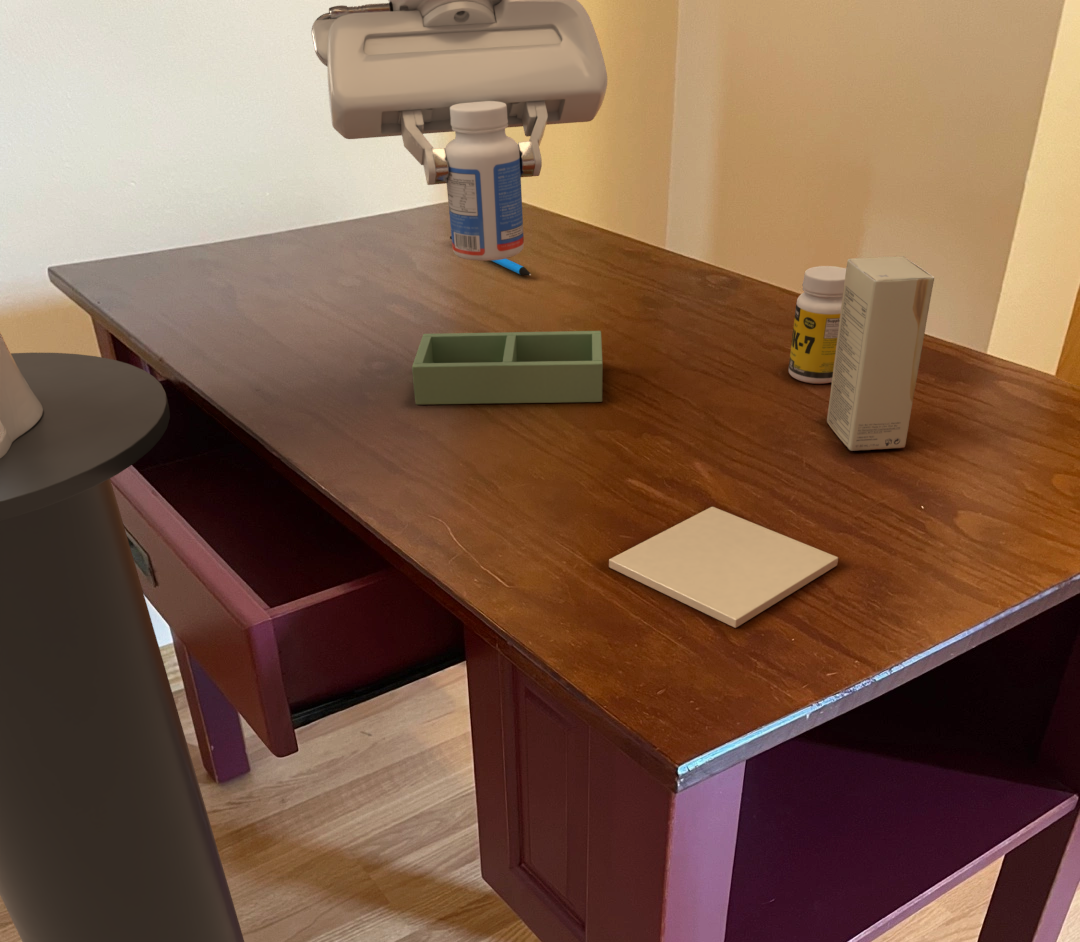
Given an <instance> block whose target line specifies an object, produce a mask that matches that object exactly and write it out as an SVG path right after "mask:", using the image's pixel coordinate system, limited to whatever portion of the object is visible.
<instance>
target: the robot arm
mask: <svg viewBox="0 0 1080 942" xmlns="http://www.w3.org/2000/svg"><path fill="white" fill-rule="evenodd" d="M311 38H312V44H313V48H314V52H315V55H316V57H317V58H318V60H319V61H320V62H321V63H322V64H323V65H324V66H325V67H327V68H326V69H327V89H328V90H327V92H328V103H329V114H330V121H331V125H332V128H333V129H334V130H335V131H336V132H337V133H338V134H339V135H340V136H341V137H343V138H344V139H346V140H357V139H358V140H359V139H372V138H384V137H385V138H386V137H399V136H401V138H402V144H403V147H404V148H405V150H407V152H408V153H409V154H411V156H412V157H413V158H414V159H415V160H416V161H417V162H418V163H419V164H420V165H421V166H423V170H424V171H423V172H424V176H425V181H426V185H428V186H433V185H444V184H447V183H448V177H449V166H448V162H447V161H446V157H447V156H446V151H445V148H446V147H438V148H436V147H435V148H434V146H433V145H432V144H431V143H430V141H429V140H428V139H427V138H426V136H425V134H437V133H438V134H439V133H440V134H441V133H453V132H454V133H455V131H453V130H452V126H451V117H450V107H451V106H452V105H455V104H459V103H468V102H480V101H497V102H503V103H505V104H506V106H507V119H508V123H507V124H508V127H507V128H520V127H521V128H523V133H524V136H525V137H529V140H527V141H526V140H525V141H518V143H517V144H518V147H519V156H520V173H521V178H530V177H531V178H532V177H540V174H541V170H542V165H543V162H542V154H541V150H540V145H541V144H542V143H541V142H542V141H543V138H544V134H545V130H546V126H547V125H560V124H577V123H587V122H592V121H593V120H594V119H595V117H596V116H597V114H598V113H599V111H600V110H601V107H602V105H603V102H604V100H605V96H606V93H607V89H608V88H607V87H608V73H607V67H606V64H605V60H604V56H603V55H604V54H603V53H602V52H603V51H602V49H601V45H600V42H599V39H598V35H597V33H596V31H595V28H594V25H593V22H592V20H591V17H590V16H589V13H588V12H587V10H586V8H585V7H584V6H583V5H582V3H581V2H579V0H388V2H382V3H381V2H380V3H368V4H367V3H366V4H361V5H356V6H355V5H354V6H347V5H344V4H343V5H334V6H330V7H329V8H328V12H326V13H323V14H321V15H319V16H318V17H317V18H316V19H315V20H314V21H313V23H312V26H311ZM507 128H506V129H507ZM11 353H12V352H11V351H10V349H9V347H8V346H7V343H6V340H5V339H4V336H3V334H2V332H1V331H0V458H2V457H3V456H4V455H5V454H6V453H7V452H8V450H9V448H10V446H11V444H12V442H13V441H14V440H15V439H17V438H18V437H19V436H21V435H22V434H24V433H25V432H27V431H28V430H29V429H31V428H32V427H33V426H34V425H35V424H36V423H37V422H38V421H39V420H40V418H41V416H42V414H43V407H42V405H41V403H40V402H39V400H38V399H37V397H36V396H35V394H34V393H33V392H32V390H31V388H30V387H29V385H28V384H27V382H26V381H25V379H24V377H23V375H22V374H21V372H20V370H19V368H18V367H17V365H16V363H15V361H14V359H13V357H12V355H11Z"/></svg>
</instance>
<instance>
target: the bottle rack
mask: <svg viewBox="0 0 1080 942" xmlns="http://www.w3.org/2000/svg"><path fill="white" fill-rule="evenodd" d="M602 341H603V340H602V330H569V331H567V330H566V331H565V330H562V331H509V332H508V331H507V332H506V331H505V332H501V331H500V332H452V333H451V332H450V333H449V332H448V333H446V332H444V333H443V332H442V333H423V334H422V336H421V340H420V343H419V345H418V347H417V348H418V349H417V351H416V354H415V357H414V360H413V362H412V366H411V372H412V382H413V383H412V384H413V391H414V392H413V393H414V402H415V405H417V406H420V405H421V406H423V405H478V404H479V405H480V404H481V405H485V404H487V405H488V404H489V405H490V404H491V405H492V404H494V405H495V404H551V403H553V404H556V403H557V404H560V403H561V404H563V403H602V402H603V374H604V373H603V369H604V368H603V367H604V365H603V362H604V361H603V342H602Z"/></svg>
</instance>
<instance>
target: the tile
mask: <svg viewBox="0 0 1080 942" xmlns="http://www.w3.org/2000/svg"><path fill="white" fill-rule="evenodd" d="M838 562H839V557H838V556H836V555H834V554H831V553H829V552H826V551H824V550H821V549H820V548H816V547H814V546H812V545H809V544H807V543H804V542H802V541H800V540H797V539H794V538H791V537H790V536H787V535H784V534H782V533H780V532H777V531H774V530H772V529H769V528H767V527H764V526H762V525H760V524H758V523H754V522H752V521H750V520H747V519H745V518H742V517H740V516H738V515H735V514H733V513H730V512H727V511H725V510H722V509H719V508H717V507H715V506H710V507H708V508H706V509H705V510H702V511H701V512H698V513H696V514H695V515H692V516H691V517H688V518H687V519H685V520H683V521H680V522H679V523H677V524H675V525H673V526H671V527H669V528H667V529H665V530H663V531H661V532H660V533H657V534H655V535H653V536H652V537H649V538H647V539H645V540H644V541H642V542H640V543H638V544H636V545H634V546H632V547H631V548H627V550H625V551H623V552H620V553H619V554H616V555H615V556H613V557H611V558H609V559H608V568H610V569H612V570H614V571H616V572H618V573H620V574H622V575H624V576H626V577H628V578H630V579H632V580H634V581H636V582H638V583H640V584H643V585H645V586H647V587H649V588H651V589H653V590H655V591H657V592H659V593H661V594H663V595H665V596H667V597H670V598H672V599H674V600H676V601H678V602H680V603H682V604H684V605H687V606H688V607H690V608H693V609H694V610H697V611H698V612H701V613H703V614H705V615H707V616H709V617H711V618H713V619H715V620H718V621H719V622H722V623H724V624H726V625H728V626H730V627H732V628H735V629H737V628H738V627H740V626H742V625H743V624H744V623H746V622H748V621H749V620H751V619H753V618H754V617H756V616H758V615H759V614H761V613H763V612H764V611H766V610H767V609H770V608H771V607H773V606H774V605H776V604H777V603H779V602H780V601H782V600H784V599H785V598H787V597H789V596H790V595H792V594H793V593H795V592H796V591H798V590H800V589H801V588H803V587H804V586H806V585H808V584H809V583H811V582H813V581H814V580H816V579H817V578H820V577H821V576H822V575H824V574H826V573H827V572H829V571H830V570H832V569H834V568H835V567H837V566H838Z"/></svg>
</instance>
